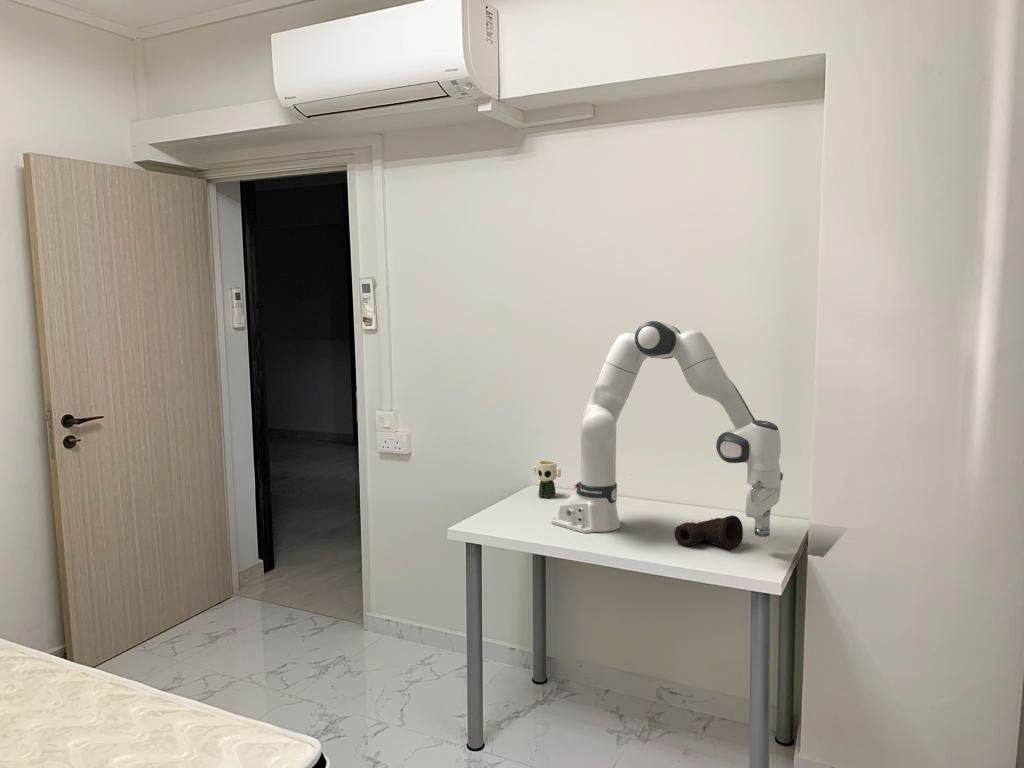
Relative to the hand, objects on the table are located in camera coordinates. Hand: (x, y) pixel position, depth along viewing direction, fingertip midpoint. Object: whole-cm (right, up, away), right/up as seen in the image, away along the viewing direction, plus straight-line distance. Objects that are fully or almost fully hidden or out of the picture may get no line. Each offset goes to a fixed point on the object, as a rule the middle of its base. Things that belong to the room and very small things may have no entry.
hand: (762, 525), depth 222 cm
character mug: (-59, -1, +65) cm, 88 cm away
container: (0, -3, 0) cm, 3 cm away
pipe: (-13, -8, +10) cm, 18 cm away
